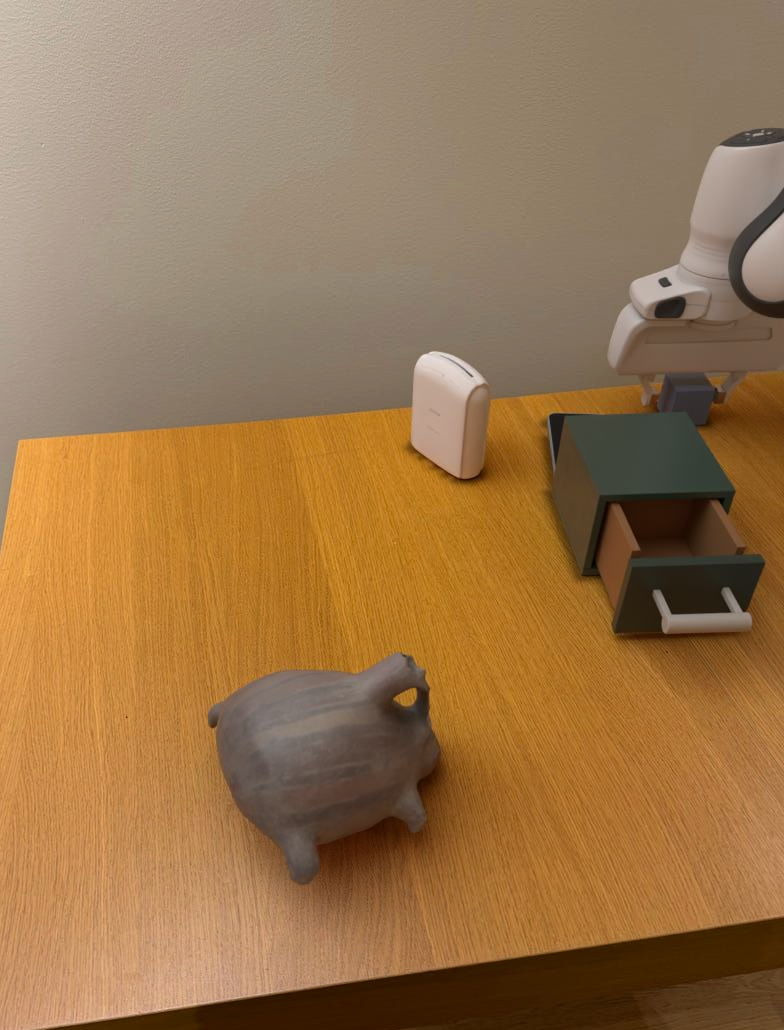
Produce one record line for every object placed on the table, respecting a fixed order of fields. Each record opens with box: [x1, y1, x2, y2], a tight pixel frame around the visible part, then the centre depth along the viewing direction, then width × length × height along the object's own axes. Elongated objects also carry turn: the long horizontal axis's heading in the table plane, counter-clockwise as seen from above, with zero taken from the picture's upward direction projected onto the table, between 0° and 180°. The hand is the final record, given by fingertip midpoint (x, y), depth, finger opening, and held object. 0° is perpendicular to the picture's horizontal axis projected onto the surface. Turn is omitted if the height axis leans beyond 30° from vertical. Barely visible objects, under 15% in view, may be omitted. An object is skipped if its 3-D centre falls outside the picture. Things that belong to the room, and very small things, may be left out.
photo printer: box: [410, 351, 492, 480], centre depth 104 cm, size 10×4×12 cm, turn 32°
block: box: [656, 373, 716, 426], centre depth 112 cm, size 5×5×5 cm
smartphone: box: [546, 412, 604, 475], centre depth 107 cm, size 7×1×15 cm
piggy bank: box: [207, 651, 442, 886], centre depth 69 cm, size 18×16×14 cm
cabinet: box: [550, 412, 737, 576], centre depth 93 cm, size 15×13×10 cm
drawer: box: [594, 498, 766, 635], centre depth 84 cm, size 18×11×8 cm, turn 1°
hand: (683, 402), depth 112 cm, fingers open, 7 cm apart
